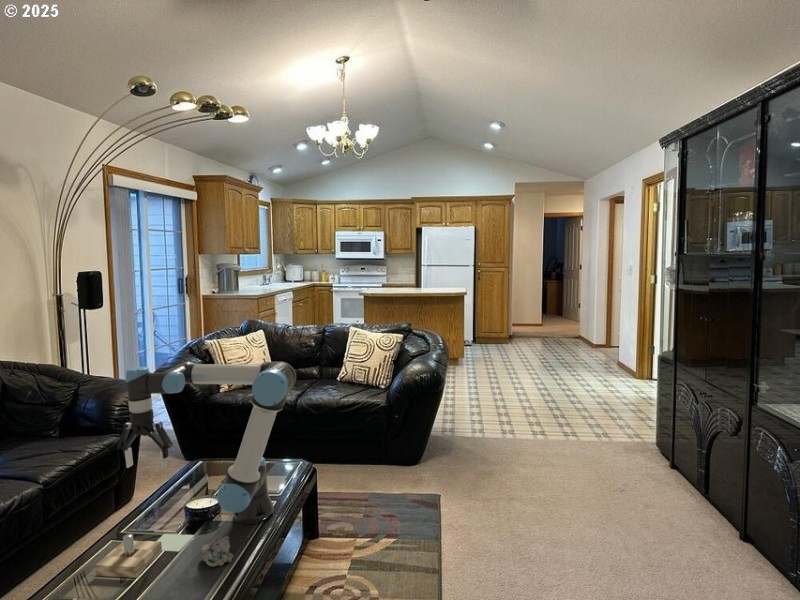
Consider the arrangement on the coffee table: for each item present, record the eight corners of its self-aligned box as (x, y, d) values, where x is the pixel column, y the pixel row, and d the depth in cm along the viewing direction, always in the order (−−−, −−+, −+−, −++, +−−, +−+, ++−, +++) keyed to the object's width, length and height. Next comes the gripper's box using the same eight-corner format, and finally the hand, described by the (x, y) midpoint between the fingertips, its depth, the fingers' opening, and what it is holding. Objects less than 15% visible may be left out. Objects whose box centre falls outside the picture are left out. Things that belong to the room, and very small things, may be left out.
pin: (137, 561, 172) (134, 533, 171) (132, 567, 169) (128, 538, 168) (129, 561, 172) (126, 533, 171) (123, 566, 169) (120, 538, 168)
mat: (194, 536, 186) (194, 535, 186) (178, 552, 176) (178, 551, 176) (164, 534, 188) (164, 533, 188) (147, 551, 178) (147, 549, 178)
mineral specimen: (216, 580, 168) (229, 554, 177) (229, 569, 165) (241, 543, 174) (192, 564, 166) (206, 539, 176) (205, 552, 163) (219, 527, 173)
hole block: (162, 552, 177) (161, 541, 176) (136, 578, 163) (134, 566, 162) (125, 550, 179) (124, 540, 178) (96, 576, 165) (95, 565, 164)
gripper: (179, 406, 185) (184, 462, 187) (116, 406, 188) (122, 461, 190) (167, 413, 178) (173, 471, 180) (102, 413, 181) (108, 470, 183)
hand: (147, 466), depth 185 cm, fingers open, 13 cm apart
